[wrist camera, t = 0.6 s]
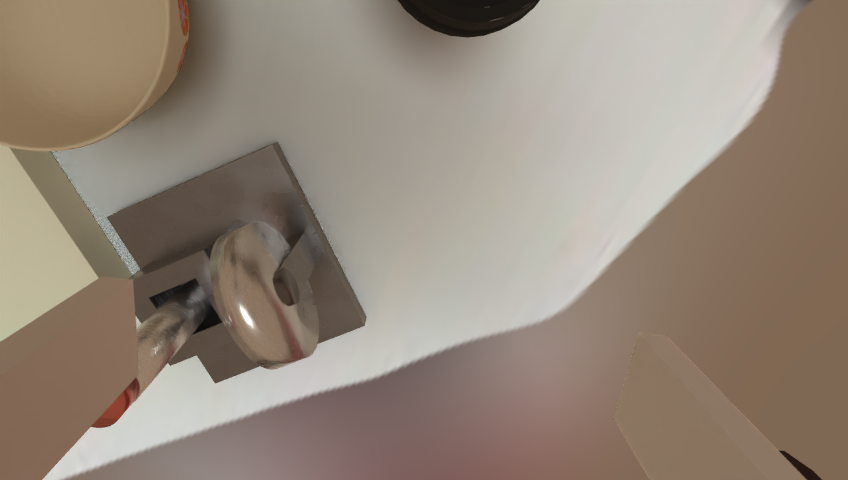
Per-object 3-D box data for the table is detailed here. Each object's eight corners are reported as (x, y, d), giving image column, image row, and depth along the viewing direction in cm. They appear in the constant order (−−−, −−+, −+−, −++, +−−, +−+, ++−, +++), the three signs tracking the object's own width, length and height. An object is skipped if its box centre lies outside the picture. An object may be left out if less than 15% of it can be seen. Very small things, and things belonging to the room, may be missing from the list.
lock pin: (183, 278, 39) (54, 393, 25) (214, 265, 39) (102, 375, 25) (201, 308, 40) (87, 435, 26) (232, 295, 40) (133, 417, 26)
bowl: (188, 169, 38) (113, 201, 28) (-28, 63, 35) (-190, 59, 26) (271, -37, 34) (215, -80, 24) (32, -176, 31) (-137, -287, 21)
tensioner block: (118, 211, 39) (-36, 284, 25) (277, 142, 37) (202, 179, 24) (221, 373, 44) (137, 504, 30) (366, 317, 42) (344, 428, 29)
